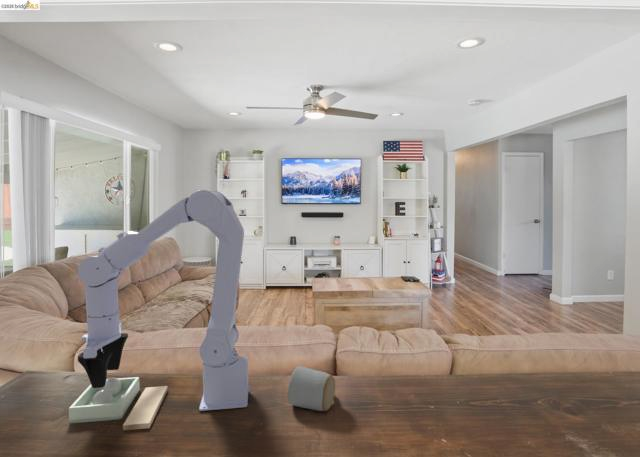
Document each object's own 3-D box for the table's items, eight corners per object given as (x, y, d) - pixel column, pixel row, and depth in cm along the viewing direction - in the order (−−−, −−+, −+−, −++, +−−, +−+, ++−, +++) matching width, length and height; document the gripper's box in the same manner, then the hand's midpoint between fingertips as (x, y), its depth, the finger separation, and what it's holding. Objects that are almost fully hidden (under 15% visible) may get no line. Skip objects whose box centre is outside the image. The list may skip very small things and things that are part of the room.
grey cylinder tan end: (325, 420, 73) (326, 381, 72) (286, 412, 75) (286, 374, 75) (341, 394, 83) (341, 359, 82) (306, 388, 85) (306, 354, 85)
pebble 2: (116, 402, 78) (115, 385, 78) (109, 411, 74) (108, 394, 74) (97, 404, 77) (96, 386, 77) (89, 413, 74) (88, 395, 74)
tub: (139, 389, 84) (139, 376, 84) (121, 419, 73) (120, 404, 73) (95, 393, 83) (94, 380, 82) (69, 423, 72) (68, 408, 71)
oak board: (167, 390, 84) (167, 385, 84) (149, 428, 70) (149, 423, 70) (145, 391, 83) (145, 387, 83) (123, 430, 69) (122, 425, 69)
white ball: (122, 395, 82) (124, 378, 83) (117, 393, 79) (119, 375, 80) (104, 398, 81) (106, 380, 83) (98, 396, 78) (100, 377, 80)
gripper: (96, 304, 83) (99, 364, 84) (63, 326, 69) (67, 397, 70) (130, 302, 85) (133, 361, 86) (105, 324, 70) (108, 394, 71)
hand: (106, 377), depth 78 cm, fingers open, 7 cm apart
